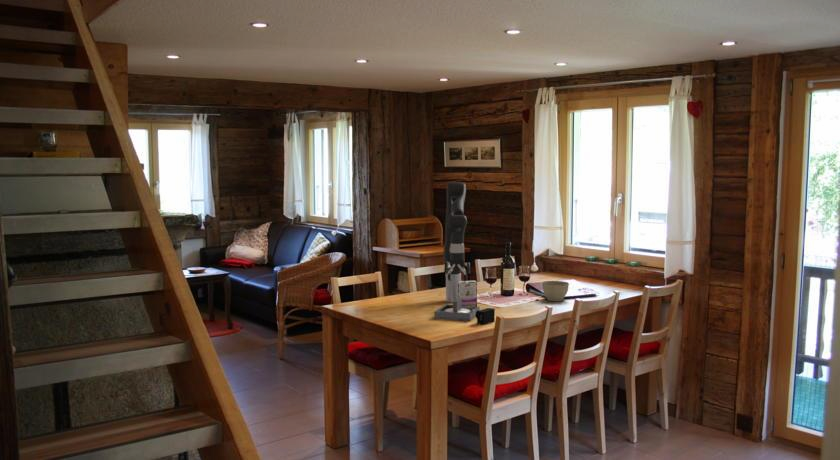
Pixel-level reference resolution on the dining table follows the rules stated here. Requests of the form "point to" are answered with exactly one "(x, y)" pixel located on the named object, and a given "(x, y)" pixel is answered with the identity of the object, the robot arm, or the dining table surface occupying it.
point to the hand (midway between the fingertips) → (457, 281)
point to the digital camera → (485, 316)
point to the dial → (457, 307)
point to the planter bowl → (555, 290)
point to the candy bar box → (467, 292)
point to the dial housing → (455, 313)
